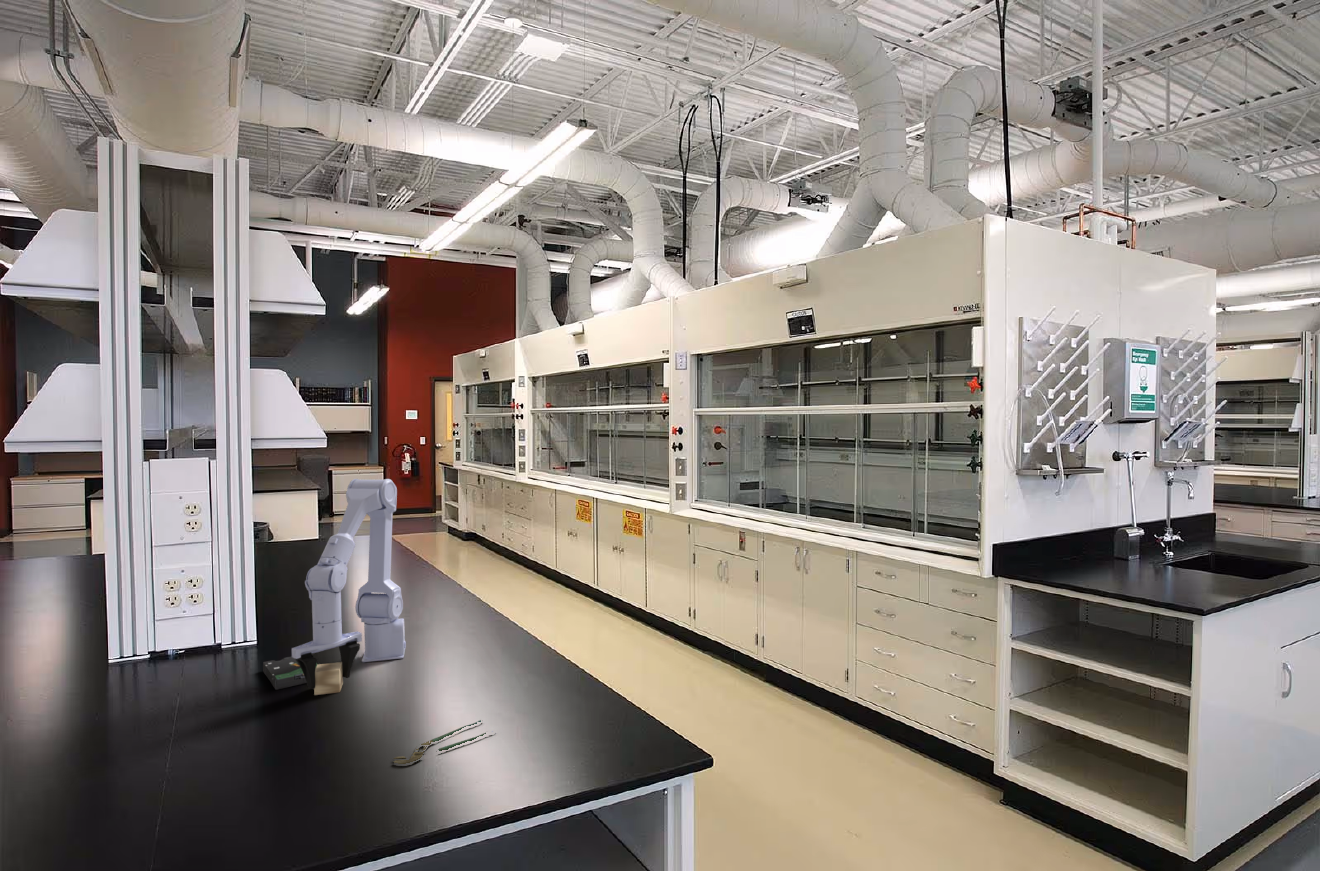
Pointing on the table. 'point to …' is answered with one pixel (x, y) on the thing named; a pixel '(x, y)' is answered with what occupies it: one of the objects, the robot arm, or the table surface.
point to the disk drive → (284, 672)
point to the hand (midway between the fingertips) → (328, 681)
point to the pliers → (419, 754)
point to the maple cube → (328, 678)
